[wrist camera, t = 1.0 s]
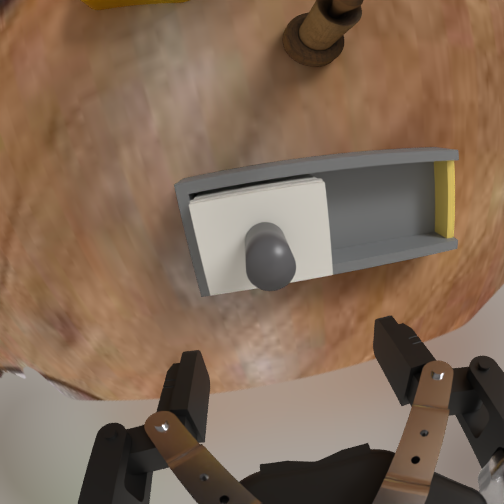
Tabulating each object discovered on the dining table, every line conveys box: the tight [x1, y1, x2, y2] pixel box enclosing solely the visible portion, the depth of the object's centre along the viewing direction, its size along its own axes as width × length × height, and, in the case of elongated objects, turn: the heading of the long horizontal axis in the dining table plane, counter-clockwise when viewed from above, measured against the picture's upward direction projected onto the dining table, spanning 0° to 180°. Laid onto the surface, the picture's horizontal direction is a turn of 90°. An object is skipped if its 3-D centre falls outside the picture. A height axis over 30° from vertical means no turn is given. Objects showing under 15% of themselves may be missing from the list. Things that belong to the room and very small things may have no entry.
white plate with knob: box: [189, 174, 333, 296], centre depth 28 cm, size 9×12×13 cm
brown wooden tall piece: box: [283, 0, 363, 67], centre depth 19 cm, size 7×6×18 cm
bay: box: [174, 147, 459, 297], centre depth 32 cm, size 12×32×5 cm, turn 100°
